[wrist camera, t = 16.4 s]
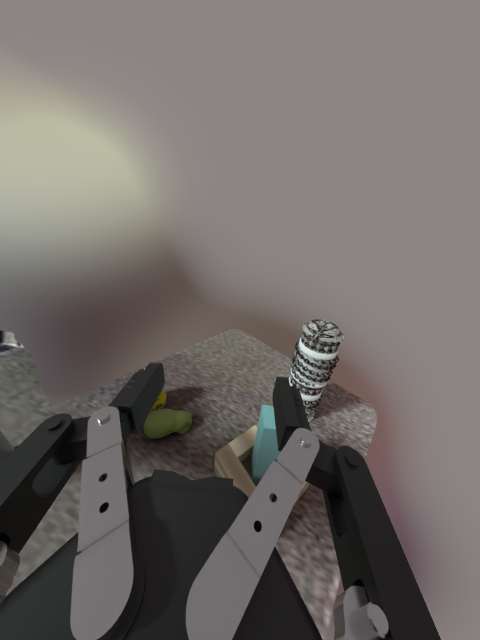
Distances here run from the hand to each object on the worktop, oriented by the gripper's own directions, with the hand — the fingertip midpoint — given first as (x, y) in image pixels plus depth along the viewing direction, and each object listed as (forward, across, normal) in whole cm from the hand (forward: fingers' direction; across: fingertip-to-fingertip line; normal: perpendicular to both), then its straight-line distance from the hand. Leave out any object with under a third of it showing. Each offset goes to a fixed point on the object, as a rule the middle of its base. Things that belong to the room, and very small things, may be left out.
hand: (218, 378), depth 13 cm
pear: (+16, +12, +32) cm, 38 cm away
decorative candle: (+25, -18, +32) cm, 45 cm away
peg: (+8, -7, +30) cm, 32 cm away
